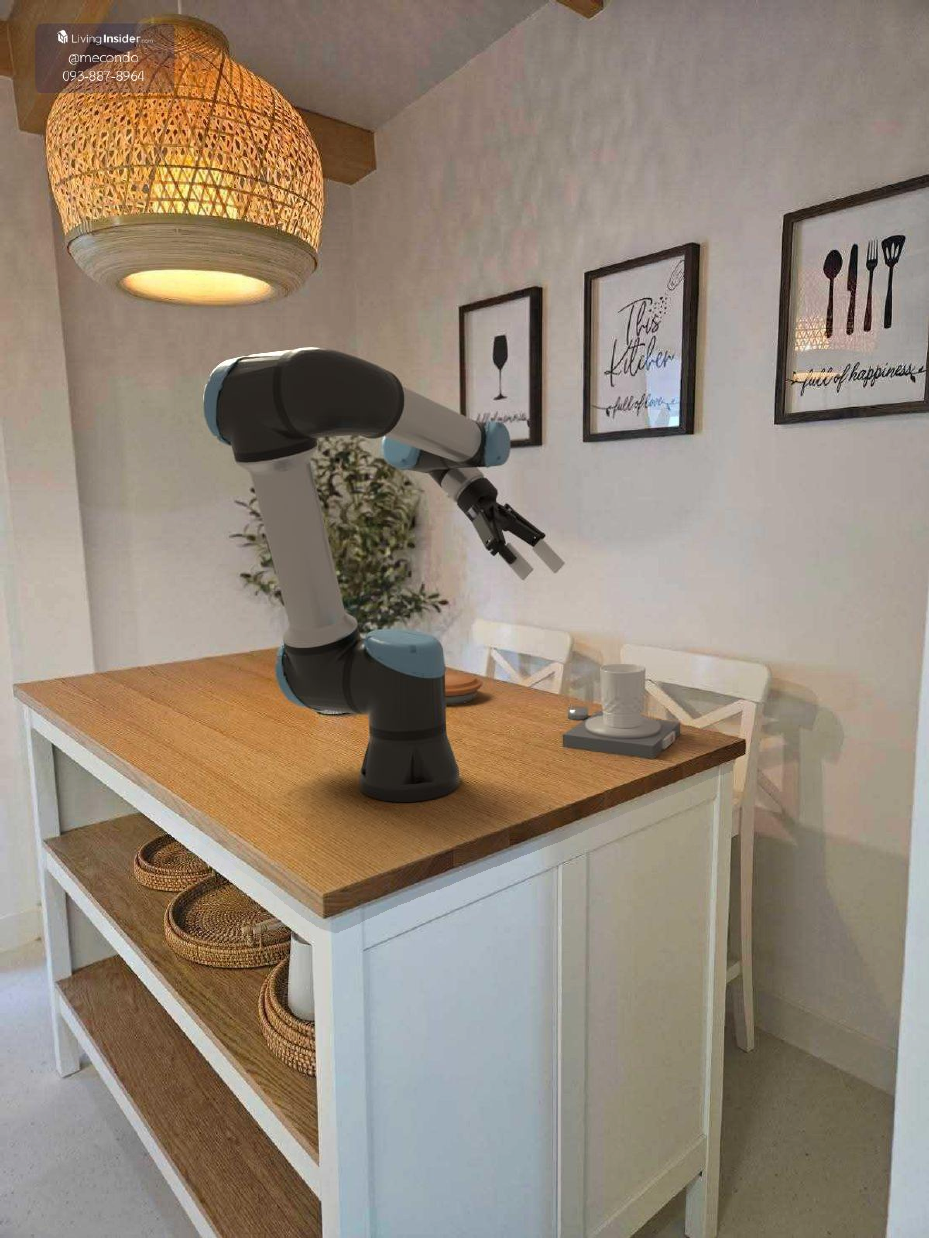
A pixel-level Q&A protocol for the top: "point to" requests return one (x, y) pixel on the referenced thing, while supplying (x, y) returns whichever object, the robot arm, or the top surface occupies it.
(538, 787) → the top surface
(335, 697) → the robot arm
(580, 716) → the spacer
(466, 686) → the pie
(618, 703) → the white cup
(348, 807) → the top surface
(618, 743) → the scale
